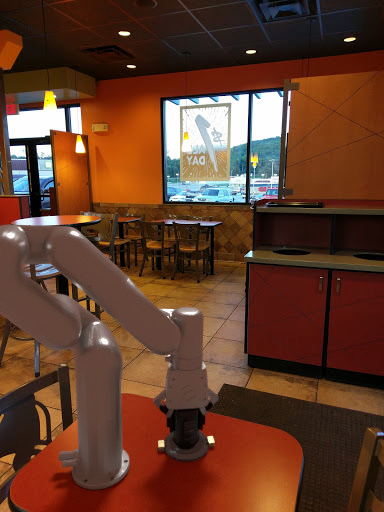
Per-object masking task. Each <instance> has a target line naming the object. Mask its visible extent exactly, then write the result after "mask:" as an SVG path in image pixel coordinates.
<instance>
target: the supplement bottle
mask: <svg viewBox="0 0 384 512" xmlns="http://www.w3.org/2000/svg"><path fill="white" fill-rule="evenodd" d="M172 416H173V432H172V440H173V442H174V443H175V444H176V445H177V446H180V447H185V448H187V447H192V446H194V445H196V444H197V443H198V441H199V437H200V432H201V430H200V408H194V409H178V410H174V411H173V413H172Z"/></svg>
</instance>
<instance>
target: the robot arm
mask: <svg viewBox="0 0 384 512" xmlns="http://www.w3.org/2000/svg"><path fill="white" fill-rule="evenodd" d="M24 265H51V266H53V268H54V269H55V270H56V271H58V272H59V273H60V274H61V275H63V276H64V278H66V279H67V280H69V282H71V283H72V284H73V285H74V286H76V287H77V288H78V289H79V290H80V291H82V292H83V293H84V294H85V296H87V297H89V299H91V300H92V301H93V302H94V303H95V304H96V305H98V306H99V307H100V309H102V310H103V311H104V312H105V313H106V314H107V315H109V316H110V318H112V319H114V320H115V322H117V323H118V324H119V325H120V326H121V327H122V328H123V329H125V331H126V332H128V333H129V334H130V335H131V336H133V338H134V339H136V341H138V342H139V343H140V344H141V345H143V346H144V347H145V348H146V349H148V351H150V352H152V353H153V354H156V355H157V356H164V362H168V365H167V366H168V367H167V370H166V376H165V385H164V386H165V387H164V389H163V390H161V392H159V393H158V395H156V396H155V397H154V398H153V399H152V402H153V404H154V406H155V407H157V409H158V410H160V412H161V413H162V414H164V415H165V416H166V419H165V420H166V424H165V425H166V428H168V429H169V433H172V432H173V416H172V413H173V411H174V410H178V409H194V408H200V431H203V430H204V426H205V425H206V416H207V414H208V412H209V411H210V410H211V409H212V408H213V406H214V405H215V404H216V403H217V402H218V401H219V395H218V394H217V393H215V391H213V390H212V389H211V388H209V381H208V380H209V379H208V378H209V377H208V371H207V370H208V369H207V366H206V364H205V362H203V358H204V357H203V355H204V354H203V352H204V323H205V322H204V313H203V312H202V310H201V309H199V308H197V307H193V306H190V307H189V306H182V307H178V308H161V307H160V308H158V307H157V306H156V305H155V304H154V303H153V302H152V301H151V300H150V299H149V298H148V297H147V296H146V295H145V294H144V293H143V292H142V291H141V290H140V289H139V288H138V286H137V285H136V284H135V283H134V281H133V280H132V279H131V278H130V277H129V276H128V275H127V274H126V273H125V272H124V271H123V270H121V268H119V267H118V265H116V264H115V263H114V262H113V261H112V260H111V259H110V258H109V257H107V256H106V255H105V254H104V252H102V251H101V250H100V249H99V248H97V246H95V244H93V243H92V242H91V241H90V240H89V239H88V238H87V237H86V236H85V235H83V234H82V232H81V231H80V230H78V229H77V228H75V227H72V226H64V225H62V226H61V225H30V224H2V225H0V315H1V316H2V317H4V318H5V319H6V320H8V321H9V322H10V323H12V324H13V325H14V326H16V327H17V328H19V329H20V330H21V331H23V332H24V333H25V334H27V335H28V336H30V337H31V338H33V340H36V341H37V342H38V343H39V344H41V345H42V346H43V347H45V348H47V349H49V350H51V351H57V352H59V351H60V352H61V351H65V350H70V351H71V352H72V355H73V360H74V370H75V396H76V397H75V401H76V404H75V405H76V417H77V418H76V419H77V442H78V444H77V445H78V448H75V449H73V450H70V451H69V450H63V451H59V453H58V462H62V464H61V466H62V467H61V468H62V469H63V468H70V467H71V468H72V469H71V473H72V475H71V476H72V478H73V481H74V482H75V484H77V485H78V486H80V487H82V488H84V489H88V490H102V489H106V488H109V487H112V486H114V485H116V484H118V483H119V482H120V481H121V480H122V479H123V478H124V477H125V476H126V475H127V474H128V471H129V469H130V463H131V461H130V456H129V454H128V453H127V451H126V450H125V449H124V448H123V421H122V420H123V419H122V418H123V416H122V414H123V413H122V412H123V411H122V409H123V406H122V376H123V370H124V369H123V366H124V364H123V363H124V362H123V355H122V352H121V348H120V346H119V343H118V341H117V340H116V338H115V336H114V334H113V333H112V331H111V329H110V327H109V326H108V325H107V324H105V323H104V322H103V320H100V319H99V318H98V317H97V316H95V315H94V314H93V313H91V312H90V311H89V310H88V309H86V307H84V306H83V305H82V304H81V303H79V302H78V301H76V300H75V299H74V298H72V297H70V296H69V295H66V294H63V293H62V294H61V293H53V294H51V293H50V292H48V290H46V289H45V288H44V287H43V286H42V285H40V284H39V283H38V282H36V281H35V280H33V279H32V278H30V277H28V276H27V274H26V273H25V271H24ZM163 400H165V403H164V402H162V401H163Z"/></svg>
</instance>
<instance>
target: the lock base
mask: <svg viewBox="0 0 384 512" xmlns="http://www.w3.org/2000/svg"><path fill="white" fill-rule="evenodd" d="M157 447H158V452H165V454H166V455H167V457H169V458H171V459H172V460H174V461H177V462H182V463H190V462H191V463H192V462H195V461H198V460H201V459H202V458H204V457H205V455H207V453H208V451H209V448H215V447H216V445H215V439H214V436H213V435H209V436H207V435H205V433H203V432H202V431H200V437H199V441H198V443H197V444H196V445H194V446H192V447H187V448H185V447H180V446H177V445H176V444H175V443H174V442H173V440H172V433H170V432H169V433H168V434H167V435H166V437H165V438H164V439H161V440H160V439H159V440H157Z"/></svg>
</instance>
